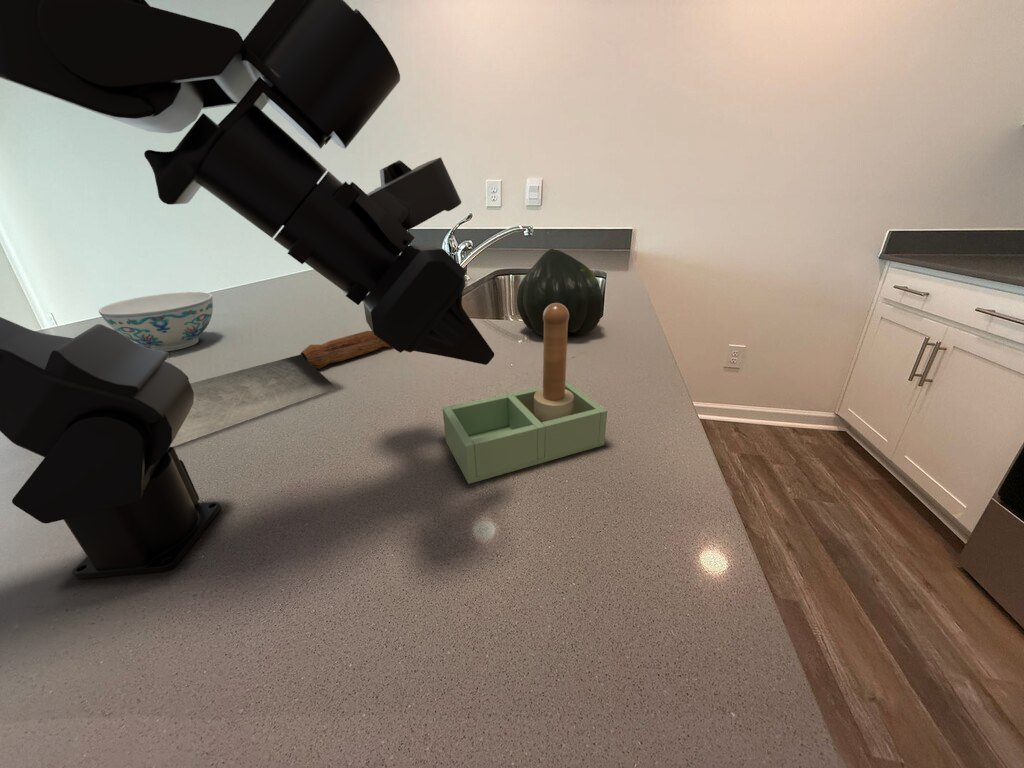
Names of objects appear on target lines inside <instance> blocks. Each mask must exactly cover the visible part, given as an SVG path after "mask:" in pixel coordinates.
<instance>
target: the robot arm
mask: <svg viewBox="0 0 1024 768" xmlns="http://www.w3.org/2000/svg"><path fill="white" fill-rule="evenodd" d="M0 79H2V80H4V81H7V82H11V83H13V84H15V85H18V86H21V87H23V88H27V89H29V90H32V91H35V92H37V93H41V94H43V95H46V96H49V97H51V98H54V99H57V100H60V101H62V102H65V103H68V104H71V105H73V106H76V107H79V108H82V109H85V110H87V111H90V112H92V113H96V114H98V115H101V116H104V117H106V118H109V119H113V120H115V121H118V122H121V123H123V124H126V125H129V126H132V127H135V128H136V129H140V130H143V131H146V132H150V133H159V134H160V133H161V134H174V133H180V132H183V130H185V129H186V128H188V127H189V126H190V125H192V124H193V123H194V122H195V123H194V124H193V125H192V126H191V127H190V129H189V130H188V131H187V133H186V134H185V135H184V137H182V139H181V141H180V142H179V143H178V144H177V145H176V147H175V148H174V149H173V150H170V151H158V150H153V149H147V150H145V151H144V154H143V155H144V158H145V159H146V161H147V162H148V164H149V166H150V167H151V170H152V172H153V175H154V180H155V185H156V188H157V193H158V194H157V196H158V199H159V200H160V201H161V202H162V203H163V204H166V205H170V206H171V205H185V204H189V202H191V200H192V199H193V198H194V197H195V195H196V194H197V193H198V191H200V189H201V188H203V189H205V190H206V191H208V193H210V194H211V195H213V197H215V198H217V199H218V200H219V201H221V202H222V203H223V204H225V205H226V206H228V207H229V208H230V209H232V210H233V211H234V212H236V213H237V214H239V216H241V217H243V218H244V219H245V220H246V221H248V222H249V223H251V224H252V225H254V226H255V227H256V228H257V229H259V230H260V231H261V232H262V233H264V234H266V235H267V236H269V238H271V239H273V241H275V242H276V243H278V244H279V245H280V246H282V247H283V248H285V249H286V250H287V253H286V254H288V255H289V256H290V257H291V258H293V260H295V261H297V262H298V263H300V264H301V265H304V264H306V265H308V266H309V267H310V268H311V269H313V270H314V271H315V272H317V273H318V274H320V275H321V276H322V277H324V278H325V279H327V281H329V282H331V283H332V284H333V285H335V286H336V287H337V288H339V289H340V290H342V292H343V294H344V296H345V297H346V298H347V299H349V300H350V301H351V302H353V303H354V304H356V305H357V306H359V305H360V304H361V303H362V302H363V304H362V305H363V309H364V315H365V321H366V323H367V325H368V327H369V329H370V331H372V332H373V333H374V335H376V336H377V337H378V338H380V339H381V340H383V341H384V342H385V343H387V344H388V345H390V348H393V349H394V350H395V351H397V352H398V353H403V352H407V353H414V352H418V353H422V354H430V355H436V356H440V357H446V358H449V359H450V358H451V359H455V360H460V361H464V362H470V363H473V364H474V363H475V364H478V365H483V366H487V365H488V364H489V363H490V362H491V361H492V359H493V358H494V357H495V351H494V350H493V349H492V347H490V345H489V344H488V342H487V341H486V340H485V338H484V336H483V335H482V334H481V332H480V331H479V330H478V328H477V326H476V325H475V324H474V322H473V320H472V319H471V318H470V316H469V315H468V313H467V312H466V310H465V308H464V306H463V291H464V290H465V287H466V273H467V270H466V269H465V268H464V267H463V266H462V265H461V264H460V263H459V262H457V260H456V259H454V258H453V257H452V256H451V255H450V253H448V252H447V251H446V250H445V249H444V248H440V247H438V246H434V245H430V244H417V245H411V243H412V242H413V241H414V239H415V236H414V235H412V234H411V233H410V232H409V230H411V229H413V228H415V227H417V226H419V225H421V224H423V223H425V222H427V221H428V220H430V219H431V218H433V217H435V216H437V215H439V214H441V213H442V212H444V211H445V212H450V211H452V210H454V209H456V208H457V207H459V206H460V205H461V204H462V200H461V197H460V195H459V193H458V191H457V188H456V187H455V184H454V182H453V180H452V178H451V176H450V174H449V172H448V169H447V167H446V165H445V163H444V161H443V158H442V157H441V156H440V157H437V158H434V159H431V160H429V161H427V162H425V163H423V164H420V165H418V166H416V167H414V168H412V169H411V168H410V167H409V166H408V165H407V164H405V162H403V161H402V160H400V159H398V160H397V161H394V162H392V163H390V164H389V165H387V166H385V167H383V168H381V169H379V177H380V178H379V179H380V186H378V187H376V188H375V189H373V190H372V191H370V192H368V193H366V192H365V191H364V190H363V189H361V188H360V187H359V186H358V185H357V184H356V183H355V182H353V181H351V182H349V183H348V182H347V181H343V182H342V181H340V180H339V179H338V178H337V177H336V176H335V175H334V174H333V173H332V172H330V171H328V169H327V168H326V167H325V166H324V165H323V164H321V162H319V161H318V160H317V159H316V158H315V157H314V156H313V155H312V154H310V153H309V152H308V151H307V150H306V149H305V148H304V147H303V146H302V145H301V144H299V143H298V142H297V140H295V139H294V138H293V137H292V136H290V134H289V133H287V132H286V131H285V130H284V129H283V128H282V127H281V126H279V125H278V123H276V122H275V120H274V119H272V118H271V117H270V116H269V115H267V114H266V112H264V111H263V109H264V108H265V107H266V106H267V104H269V106H271V107H272V108H273V109H274V110H275V111H276V112H277V113H278V114H279V115H280V116H281V117H282V118H283V119H284V120H285V121H286V122H288V124H289V125H291V126H292V127H293V128H294V129H295V130H296V131H297V132H298V133H300V135H301V136H303V137H304V138H305V139H306V140H307V141H308V142H310V143H311V144H312V145H314V146H315V147H316V148H318V149H319V150H321V149H322V148H323V147H324V146H326V145H328V143H329V142H330V141H332V142H333V143H334V144H336V145H337V146H338V147H341V148H342V149H343V150H346V149H347V148H348V146H349V145H350V144H351V143H352V141H353V140H354V139H355V138H356V136H357V135H358V134H359V133H360V131H361V130H362V128H363V127H364V126H366V124H367V123H368V122H369V121H370V119H371V118H372V116H373V115H374V114H375V113H376V112H377V110H378V109H379V108H380V106H382V104H383V103H384V102H385V100H386V99H387V98H388V96H389V95H390V94H391V93H392V92H393V91H394V89H395V88H396V87H397V86H398V85H399V83H400V81H401V74H400V70H399V67H398V65H397V63H396V60H395V59H394V57H393V56H392V54H391V51H390V50H389V48H388V47H387V45H386V43H385V42H384V41H383V39H382V38H381V36H380V35H379V34H378V32H377V31H376V30H375V28H374V27H373V26H372V24H371V22H369V21H368V19H367V18H366V17H365V15H363V14H362V13H361V11H360V10H359V9H357V8H355V9H353V8H351V6H350V5H349V4H348V3H347V2H346V1H345V0H274V1H273V2H272V3H271V4H270V5H269V7H268V8H267V9H266V11H265V12H264V13H263V14H262V16H261V17H260V18H259V20H258V21H257V22H256V23H255V25H254V26H253V28H251V30H250V31H249V33H248V34H247V35H246V36H245V37H244V38H243V37H242V36H241V34H240V33H239V32H238V31H237V30H236V29H234V28H231V27H227V26H225V25H221V24H216V23H213V22H209V21H206V20H202V19H199V18H196V17H195V18H194V17H191V16H188V15H185V14H180V13H177V12H173V11H169V10H167V9H166V10H165V9H162V8H159V7H155V6H151V5H150V4H149V3H148V2H147V1H146V0H0ZM230 106H234V107H233V108H232V110H231V111H229V113H228V114H227V115H226V116H225V117H223V118H222V119H221V120H220V122H219V123H216V122H215V121H214V120H213V119H212V118H211V117H209V116H208V115H207V114H205V113H204V112H203V113H201V112H202V110H208V109H215V108H222V107H230ZM200 114H201V115H200ZM199 115H200V116H199ZM198 117H199V118H198ZM326 172H327V173H326ZM324 174H325V175H324ZM169 357H170V353H169V351H157V350H152V349H151V348H150V347H145V345H144V346H143V345H142V344H140V343H137V342H135V341H132V340H130V339H128V338H127V337H125V336H124V335H122V334H120V333H119V332H117V331H116V330H114V329H113V328H112V327H110V326H107V325H104V324H101V323H98V324H95V325H94V326H92V327H90V328H88V329H86V330H85V331H84V332H82V333H80V334H78V335H76V336H75V337H69V336H62V335H55V334H48V333H43V332H39V331H36V330H33V329H30V328H27V327H25V326H23V325H20V324H18V323H16V322H13V321H11V320H8V319H6V318H4V317H1V316H0V433H1V434H3V436H5V438H7V439H8V440H9V441H10V442H11V443H12V444H14V445H15V446H17V447H20V448H21V449H25V450H27V451H28V452H31V453H34V454H35V455H38V456H40V457H43V459H42V461H40V462H39V464H38V466H37V467H36V468H35V470H34V471H33V472H32V474H31V475H30V476H29V477H28V478H27V480H26V481H25V482H24V484H23V485H22V486H21V488H20V489H19V490H18V492H17V493H16V494H15V495H14V496H13V497H12V499H11V503H12V504H13V506H15V507H17V508H18V509H20V510H21V511H23V512H24V513H26V514H27V515H29V516H30V517H32V518H33V519H35V520H37V521H38V522H40V523H42V524H52V523H55V522H56V523H57V522H61V521H64V523H65V524H66V526H67V527H68V529H69V530H70V532H71V534H72V535H73V536H74V539H75V540H76V541H77V543H78V545H79V546H80V548H81V549H82V550H83V553H85V555H86V557H85V558H84V559H83V560H82V561H81V562H80V563H79V564H78V565H77V566H75V567H74V568H73V570H72V571H71V575H72V576H73V578H74V579H77V580H81V579H92V578H103V577H112V576H113V577H116V576H123V575H125V576H126V575H137V574H148V573H157V572H158V573H160V572H167V571H169V570H172V569H173V568H175V567H176V566H177V565H178V564H179V563H180V561H181V560H182V559H183V557H185V555H186V554H187V552H188V551H189V550H190V548H191V547H192V546H193V545H194V544H195V542H196V541H197V539H199V537H200V536H201V535H202V533H203V532H204V531H205V530H206V528H207V527H208V526H209V524H210V523H211V522H212V521H213V519H214V518H215V517H216V516H217V514H218V513H219V511H221V509H222V505H221V503H220V502H219V501H208V502H206V501H205V502H199V501H200V497H199V494H198V492H197V490H196V488H195V486H194V484H193V481H192V479H191V476H190V475H189V472H188V470H187V468H186V465H185V462H184V461H183V460H182V459H180V458H179V456H178V454H177V451H176V449H175V446H173V447H170V446H171V444H172V442H173V440H174V439H175V437H176V435H177V433H178V431H179V430H180V428H181V426H182V424H183V422H184V421H185V419H186V417H187V415H188V414H189V412H190V410H191V407H192V405H193V403H194V392H193V389H192V387H191V384H190V383H191V382H190V380H189V379H190V378H189V376H188V375H187V374H186V373H185V372H184V371H183V370H182V369H180V368H179V367H177V366H176V365H174V364H172V363H170V362H168V361H166V360H167V359H168V358H169Z"/></svg>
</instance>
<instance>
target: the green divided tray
mask: <svg viewBox="0 0 1024 768" xmlns="http://www.w3.org/2000/svg"><path fill="white" fill-rule="evenodd" d="M540 389H543V385H542V386H538V387H533V388H527V389H523V390H519V391H515V392H512V393H511V392H510V393H506V394H501V395H496V396H490V397H487V398H482V399H476V400H472V401H468V402H463V403H459V404H453V405H450V406H445V407H442V417H443V427H444V435H445V436H444V437H445V442H446V444H447V446H448V448H449V450H450V452H451V454H452V456H453V457H454V460H455V461H456V463H457V465H458V467H459V469H460V471H461V472H462V475H463V477H464V478H465V480H466V482H467V484H468V485H471V484H475V483H478V482H481V481H484V480H487V479H492V478H494V477H498V476H501V475H505V474H509V473H512V472H515V471H520V470H522V469H526V468H529V467H533V466H537V465H540V464H543V463H547V462H550V461H554V460H557V459H561V458H564V457H567V456H571V455H575V454H578V453H582V452H585V451H588V450H589V451H590V450H591V449H595V448H598V447H602V446H605V441H606V429H607V420H608V419H607V418H608V410H607V409H606V408H604V407H603V406H601V405H600V404H599V403H597V401H595V400H594V399H592V398H591V397H589V396H588V395H587V394H585V393H584V392H583V391H582V390H580V389H579V388H577V387H576V386H575V385H574V384H572V383H570V382H569V381H568V380H567V381H566V380H565V389H566V390H568V391H570V392H571V393H572V394H573V395H574V404H573V415H570V416H566V417H561V418H557V419H553V420H549V421H545V422H542V423H541V422H540V421H539V420H538V419H537V418H536V417H535V416H534V394H535V393H536V392H537V391H538V390H540Z"/></svg>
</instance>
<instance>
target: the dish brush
mask: <svg viewBox="0 0 1024 768" xmlns="http://www.w3.org/2000/svg"><path fill="white" fill-rule="evenodd" d="M543 320H544V336H543V348H542V349H543V351H542V352H543V353H542V355H543V356H542V359H543V360H542V361H543V362H542V386H543V389H540V390H538V391H537V392H536V393H535V394H534V416H535V417H536V418H537V419H538V420H539V421H540V422H541V423H542V422H545V421H549V420H553V419H557V418H561V417H566V416H570V415H573V404H574V395H573V394H572V393H571V392H570V391H568V390H566V389H565V382H566V379H567V378H566V376H567V355H568V354H567V353H568V352H567V351H568V331H567V330H568V320H569V312H568V310H567V308H566V307H565V306H564V305H562V304H560V303H552V304H550V305H548V306H547V307H546V308H545V310H544V312H543Z"/></svg>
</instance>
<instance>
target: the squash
mask: <svg viewBox="0 0 1024 768" xmlns="http://www.w3.org/2000/svg"><path fill="white" fill-rule="evenodd" d="M552 303H560V304H562V305H564V306H565V307H566V308H567V310H568V312H569V320H568V330H567V332H570V333H572V334H574V335H578V336H579V335H585V334H588V333H590V332H592V331H593V330H594V329H595V328H596V327H597V326H598V324H599V323H600V320H601V319H602V314H603V310H604V298H603V292H602V290H601V286H600V283H599V281H598V278H597V277H596V275H595V274H594V273H593V271H592V270H591V268H589V267H588V266H587V265H586V264H584V263H582V262H581V261H579V260H577V259H576V258H575V257H573V256H572V255H569V254H568V253H565V252H564V251H562V250H559V249H554V248H549V249H548V250H547V251H546V252H544V253H543V254H542V255H541V256H540V257H539V259H538V260H537V261H536V262H535V263H534V265H533V266H532V267H531V268H530V269H529V270H528V271H527V273H526V274H525V275H524V277H523V278H522V280H521V282H520V284H519V286H518V288H517V292H516V307H517V311H518V314H519V316H520V319H521V320H522V322H523V324H524V325H525V326H526V327H527V329H529V330H530V331H532V332H534V333H536V334H538V335H539V336H542V337H544V320H543V312H544V310H545V308H546V307H547V306H548V305H550V304H552Z"/></svg>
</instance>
